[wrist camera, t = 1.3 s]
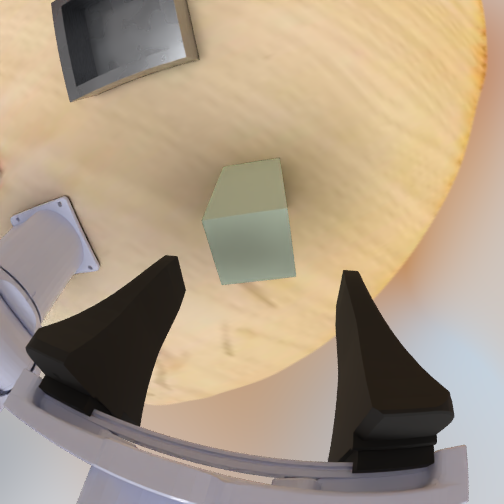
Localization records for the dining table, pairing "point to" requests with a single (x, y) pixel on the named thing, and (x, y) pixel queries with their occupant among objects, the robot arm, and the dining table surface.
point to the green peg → (250, 224)
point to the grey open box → (119, 41)
